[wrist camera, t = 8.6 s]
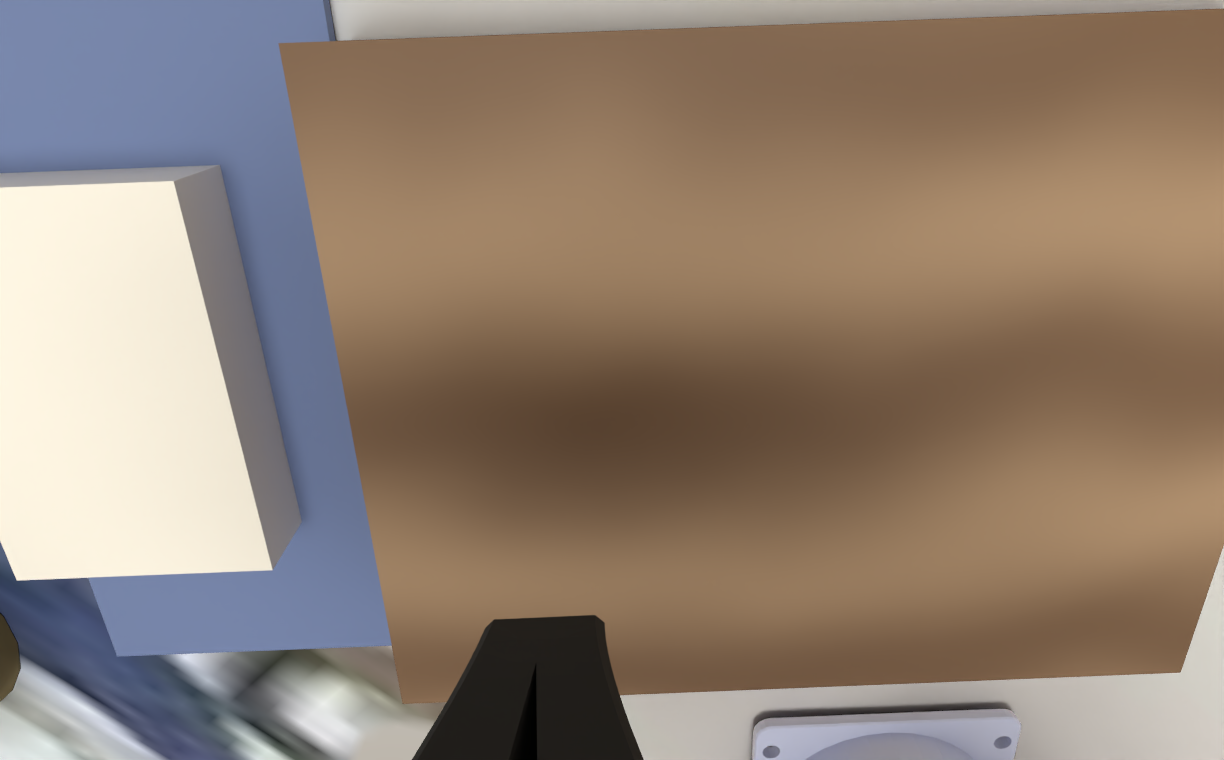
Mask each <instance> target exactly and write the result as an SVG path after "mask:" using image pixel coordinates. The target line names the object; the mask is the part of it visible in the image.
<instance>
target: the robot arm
mask: <svg viewBox="0 0 1224 760" xmlns="http://www.w3.org/2000/svg"><path fill="white" fill-rule="evenodd" d="M1020 732H1021V723H1020V721H1019V719H1018V718H1017V716H1016V715H1015V713H1014V712H1013V711H1011V710H1009V709H982V710H957V711H932V712H907V713H883V714H858V715H833V716H808V717H784V718H768V719H764V720H762V721H760V722H758V723H757V724H756V725H755V727H754V730H753V744H752V760H1014V757H1015V752H1016V748H1017V744H1018V740H1019V736H1020ZM771 745H772V747H767V746H771ZM412 760H643V757H642V755H641V752H640V749H639V747H638V744H637V742H636V739H635V737H634V734H633V732H632V729H631V727H630V724H629V721H628V718H627V716H626V713H625V710H624V707H623V704H622V701H621V698H620V695H619V691H618V688H617V685H616V681H615V678H614V675H613V671H612V667H611V663H610V659H609V654H608V649H607V643H606V636H605V622H603V621H602V620H601V619H600V618H598V617H597V616H596V615H582V616H560V617H538V618H516V619H494V620H493V621H492V622H491V623H490V624H489V625H488V626H487V627H485V630H484V632H483V634H482V636H481V638H480V640H479V643H478V645H477V647H476V649H475V651H474V653H473V655H472V657H471V659H470V661H469V662H468V664H467V666H466V668H465V670H464V672H463V674H462V676H461V678H460V679H459V681H458V683H457V685H456V687H455V688H454V690H453V692H452V694H451V695H450V697H449V699H448V701H447V703H446V704H445V706H444V708H443V710H442V711H441V713H440V715H439V716H438V718H437V720H436V721H435V723H434V725H433V726H432V728H431V729H430V731H429V733H428V734H427V736H426V738H425V739H424V741H423V743H422V744H421V746H420V747H419V749H418V751H417V752H416V754H415V756H414V757H413V759H412Z"/></svg>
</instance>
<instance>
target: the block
mask: <svg viewBox="0 0 1224 760" xmlns="http://www.w3.org/2000/svg"><path fill="white" fill-rule="evenodd" d="M301 522H302V521H301V516H300V512H299V508H298V503H297V499H296V494H295V490H294V486H293V481H292V477H291V473H290V468H289V464H288V460H287V455H286V451H285V447H284V442H283V438H282V433H281V429H280V425H279V420H278V416H277V412H276V407H275V403H274V399H273V394H272V390H271V386H270V381H269V377H268V372H267V368H266V364H265V359H264V355H263V351H262V346H261V342H260V338H259V333H258V329H257V325H256V320H255V316H254V311H253V307H252V303H251V298H250V294H249V290H248V285H247V281H246V277H245V272H244V268H243V264H242V259H241V255H240V250H239V246H238V242H237V237H236V233H235V229H234V224H233V220H232V216H231V211H230V207H229V203H228V198H227V194H226V189H225V185H224V181H223V176H222V172H221V168H220V165H208V166H181V167H154V168H128V169H101V170H74V171H48V172H21V173H0V541H1V544H2V546H3V548H4V551H5V553H6V556H7V558H8V560H9V563H10V565H11V568H12V570H13V572H14V575H15V577H16V579H17V580H39V579H65V578H90V577H115V576H140V575H165V574H190V573H215V572H241V571H266V570H273V569H274V567H275V566H276V564H277V562H278V561H279V559H280V557H281V556H282V554H283V552H284V551H285V549H286V547H287V546H288V544H289V542H290V541H291V539H292V537H293V536H294V534H295V532H296V531H297V529H298V527H299V526H300V524H301Z"/></svg>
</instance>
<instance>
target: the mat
mask: <svg viewBox="0 0 1224 760" xmlns="http://www.w3.org/2000/svg"><path fill="white" fill-rule="evenodd" d="M324 41H336V40H335V34H334V28H333V21H332V15H331V9H330V3H329V0H0V173H21V172H48V171H74V170H101V169H128V168H154V167H181V166H208V165H220V168H221V172H222V176H223V181H224V185H225V189H226V194H227V198H228V203H229V207H230V211H231V216H232V220H233V224H234V229H235V233H236V237H237V242H238V246H239V250H240V255H241V259H242V264H243V268H244V272H245V277H246V281H247V285H248V290H249V294H250V298H251V303H252V307H253V311H254V316H255V320H256V325H257V329H258V333H259V338H260V342H261V346H262V351H263V355H264V359H265V364H266V368H267V372H268V377H269V381H270V386H271V390H272V394H273V399H274V403H275V407H276V412H277V416H278V420H279V425H280V429H281V433H282V438H283V442H284V447H285V451H286V455H287V460H288V464H289V468H290V473H291V477H292V481H293V486H294V490H295V494H296V499H297V503H298V508H299V512H300V516H301V521H302V522H301V524H300V526H299V527H298V529H297V531H296V532H295V534H294V536H293V537H292V539H291V541H290V542H289V544H288V546H287V547H286V549H285V551H284V552H283V554H282V556H281V557H280V559H279V561H278V562H277V564H276V566H275V567H274V569H273V570H266V571H241V572H215V573H190V574H165V575H140V576H115V577H90V578H88V579H89V582H90V584H91V587H92V590H93V592H94V595H95V598H96V600H97V603H98V606H99V609H100V611H101V614H102V617H103V619H104V622H105V625H106V627H107V630H108V633H109V635H110V638H111V641H112V643H113V646H114V649H115V652H116V654H117V656H140V655H165V654H190V653H215V652H240V651H266V650H291V649H316V648H341V647H366V646H391V645H392V644H391V639H390V633H389V628H388V623H387V618H386V612H385V607H384V602H383V596H382V591H381V586H380V580H379V575H378V570H377V564H376V559H375V554H374V548H373V543H372V538H371V533H370V527H369V522H368V517H367V511H366V506H365V501H364V495H363V490H362V485H361V479H360V474H359V469H358V464H357V458H356V453H355V448H354V442H353V437H352V432H351V426H350V421H349V416H348V410H347V405H346V400H345V394H344V389H343V384H342V379H341V373H340V368H339V363H338V357H337V352H336V347H335V341H334V336H333V331H332V325H331V320H330V315H329V310H328V304H327V299H326V294H325V288H324V283H323V278H322V272H321V267H320V262H319V256H318V251H317V246H316V241H315V235H314V230H313V225H312V219H311V214H310V209H309V203H308V198H307V193H306V187H305V182H304V177H303V171H302V166H301V161H300V156H299V150H298V145H297V140H296V134H295V129H294V124H293V118H292V113H291V108H290V102H289V97H288V92H287V87H286V81H285V76H284V71H283V65H282V60H281V55H280V49H279V44H278V43H296V42H324Z"/></svg>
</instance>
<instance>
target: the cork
mask: <svg viewBox="0 0 1224 760" xmlns="http://www.w3.org/2000/svg"><path fill="white" fill-rule="evenodd" d="M19 671H20V661H19V652H18V643H17V641H16V640H15V638H14V636H13V634H12V632H11V630H10V628H9V626H8V624H7V623H6V621H5V619H4V617H3V616H2V615H1V614H0V701H1V700H3V699H4V698H5V697H6V696H7V695H8V694H9V693H10V692H11V691H12V690H13V687H14V685H15V682H16V679H17V676H18V674H19Z"/></svg>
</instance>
